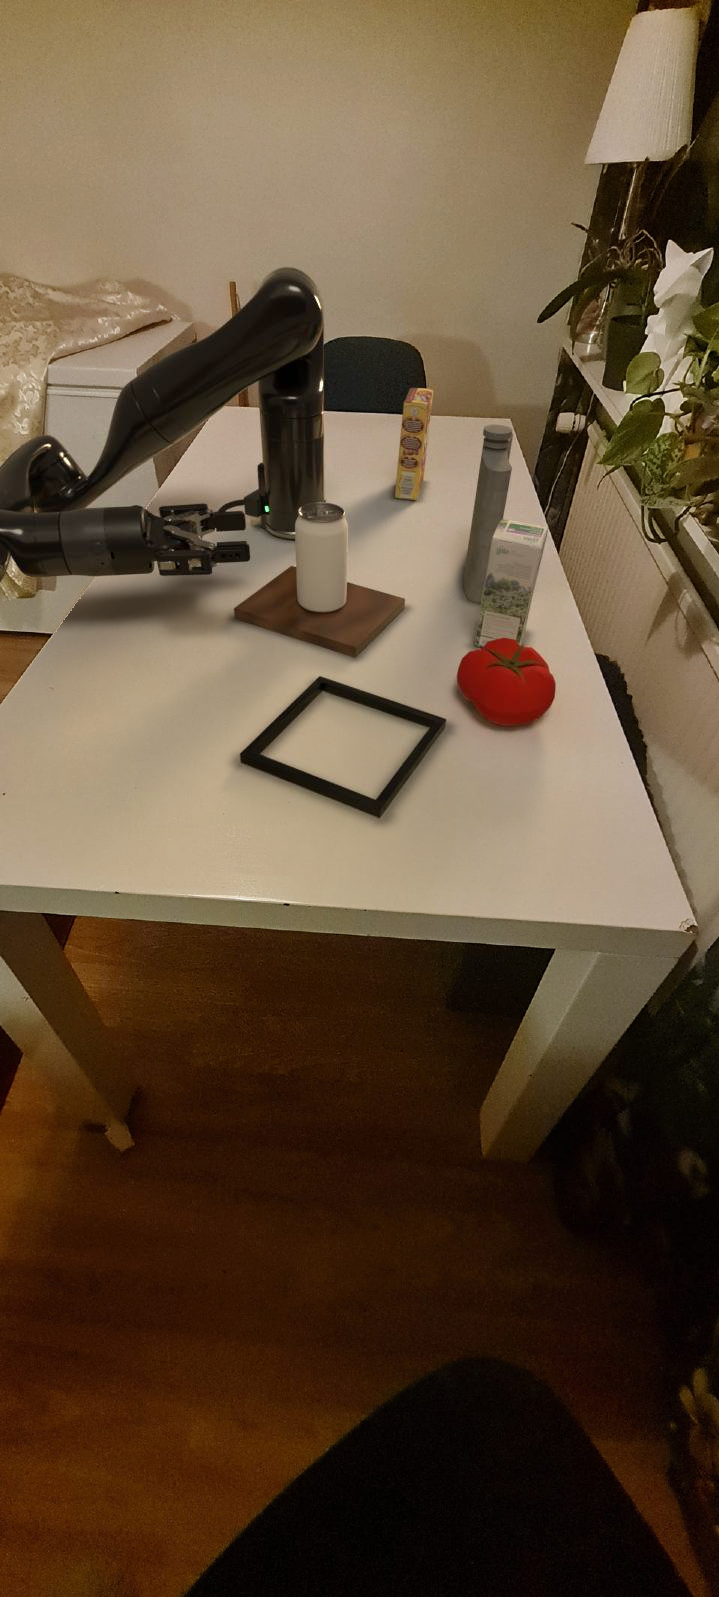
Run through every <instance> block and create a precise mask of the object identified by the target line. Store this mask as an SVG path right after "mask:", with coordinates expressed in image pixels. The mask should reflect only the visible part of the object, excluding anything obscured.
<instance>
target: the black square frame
mask: <svg viewBox="0 0 719 1597" xmlns="http://www.w3.org/2000/svg"><path fill="white" fill-rule="evenodd" d="M322 692H325V693H329V694H331V695H334V696H337V697H339V698H343V699H345V700H349V701H351V702H354V703H357V704H359V705H363V706H366V707H369V708H372V709H375V710H377V711H380V712H383V713H386V714H389V715H392V716H394V717H397V718H401V719H403V720H406V721H409V722H412V723H414V724H418V725H421V726H423V727H427V728H428V729H427V731H426V732H425V733H424V735H423V736H422V737H421V738H420V739H419V741H418V742H417V744H416V745H415V747H414V748H413V750H412V751H411V752H410V753H409V754H408V755H407V757H406V759H405V760H404V761H403V763H402V764H401V765H400V766H399V768H398V770H396V772H395V773H394V775H393V776H392V777H391V779H390V780H389V781H388V783H387V784H386V785H385V787H384V788H383V789H382V790H381V792H380V793H379V795H378V796H377V797H376V798H373V797H370V796H368V795H365V794H363V793H360V792H358V791H355V790H352V789H350V788H347V787H345V786H342V785H339V784H336V783H334V782H332V781H329V780H327V779H324V778H321V777H319V776H317V775H314V774H312V773H309V772H307V771H305V770H301V769H299V768H296V767H294V766H292V765H288V764H286V763H284V762H281V761H278V760H276V759H273V758H271V757H268V756H266V755H263V754H262V752H263V751H265V749H266V748H268V746H269V745H270V744H271V743H272V742H273V741H274V740H275V739H277V737H279V735H280V734H282V732H284V730H285V729H286V728H287V727H289V725H291V723H292V722H293V721H294V720H295V719H296V718H298V716H299V715H300V714H301V713H303V711H304V710H305V709H306V708H308V706H309V705H310V704H312V702H313V701H314V700H315V699H316V698H317V697H318V696H319V695H320V694H321V693H322ZM446 724H447V718H445V717H442V716H439V715H436V714H433V713H430V712H427V711H424V710H421V709H419V708H415V707H412V706H410V705H406V704H404V703H400V702H398V701H394V700H391V699H389V698H386V697H383V696H380V695H378V694H375V693H372V692H368V691H366V690H363V689H361V688H360V689H359V688H356V687H353V686H351V685H348V684H344V683H342V682H340V681H336V680H333V679H330V678H327V677H324V676H320V675H319V676H318V677H317V678H316V679H315V680H313V682H311V684H310V685H308V686H307V688H305V690H304V691H302V693H300V694H299V695H298V696H297V697H296V698H295V699H294V700H293V701H292V702H291V703H290V704H289V705H288V706H287V707H286V708H285V709H284V710H283V711H282V712H281V713H280V714H279V715H278V716H277V717H276V718H274V719H273V721H271V723H270V724H269V725H268V726H267V727H266V728H264V730H262V731H261V732H260V734H259V735H258V736H256V737H255V738H254V739H253V740H252V741H251V742H250V743H249V744H248V745H247V746H246V747H245V748H244V749H243V750H242V751H241V752H240V753H239V758H240V760H239V761H240V763H241V764H243V765H247V766H249V767H251V768H254V769H256V770H259V771H261V772H264V773H266V774H269V775H270V776H271V775H272V776H274V777H275V778H276V777H277V778H279V779H281V780H284V781H286V782H288V783H291V784H294V785H295V786H299V787H301V788H304V789H306V790H308V791H311V792H314V793H316V794H319V795H321V796H323V797H326V798H329V799H331V800H333V801H335V802H338V803H342V804H344V805H346V806H348V807H351V808H354V809H356V810H358V811H361V812H363V813H366V814H368V815H371V816H373V817H376V818H378V819H380V818H381V817H382V816H383V814H384V813H385V811H386V810H387V809H388V807H389V806H390V804H391V803H392V802H393V800H394V799H395V798H396V796H397V795H398V794H399V792H400V790H401V789H402V788H403V787H404V785H405V784H406V782H407V781H408V780H409V779H410V777H411V776H412V774H413V773H414V771H415V770H416V769H417V767H418V766H419V765H420V763H421V762H422V761H423V759H424V758H425V757H426V755H427V754H428V753H429V751H430V749H431V748H432V747H433V745H434V744H435V743H436V741H437V740H438V739H439V737H440V736H441V735H442V733H443V732H444V730H445V729H446V726H447V725H446Z"/></svg>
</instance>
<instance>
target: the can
mask: <svg viewBox="0 0 719 1597" xmlns="http://www.w3.org/2000/svg"><path fill="white" fill-rule="evenodd" d="M345 513H346V512H345V509H344V508H343V507H341V506H340V505H338V504H335V503H332V502H326V503H324V502H317V503H310V504H306V505H304V506H302V507H300V508H299V510H298V514H299V516H298V518H297V520H296V523H295V539H294V540H295V567H296V577H297V599H298V603H299V604H300V605H301V606H302V607H303V608H304V609H305V610H307V611H310V612H313V613H331V612H335V611H337V610H339V609H341V608H342V607H343V605H344V604H345V603H346V594H347V582H348V553H349V552H348V547H349V545H348V544H349V526H348V521H347V519H346V516H345Z"/></svg>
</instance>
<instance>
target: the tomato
mask: <svg viewBox="0 0 719 1597" xmlns="http://www.w3.org/2000/svg"><path fill="white" fill-rule="evenodd" d="M456 683H457V685H458V688H459V690H460V691H461V693H462V695H463V697H464V698H466V699H467V700H468V701H470V702H472V704H473V705H474V707H475V709H476V711H477V713H479V714H480V715H481V716H482V717H483V718H485V719H486V720H488V721H490V722H491V723H494V724H497V725H500V726H510V727H512V726H513V727H514V726H522V725H528V724H530V723H532V722H535V721H537V720H539V719H540V718H541V717H542V716H544V715H545V713H547V711H548V710H549V709H550V708H551V707H552V704H553V703H554V700H555V697H556V688H557V687H556V686H557V685H556V684H557V683H556V680H555V678H554V675H553V674H552V673H551V671H550V667H549V664H548V663H547V662H546V660H545V659H544V657H543V656H542V655H541V654H540V653H539V652H538V651H537V650H535V648H533V647H531V646H524V644H521V646H520V645H519V644H518V642H517V641H516V640H515V639H509V638H500V639H496V640H492V641H488V642H487V643H486V644H485V645H484V646H483V647H481V649H474V650H470V651H468V652H467V653H466V654H465V655H463V657H462V658H461V659H460V662H459V665H458V668H457V673H456Z"/></svg>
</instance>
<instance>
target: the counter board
mask: <svg viewBox="0 0 719 1597" xmlns="http://www.w3.org/2000/svg"><path fill="white" fill-rule="evenodd" d="M405 604H406V598H404V597H401V596H397V595H395V594H391V593H387V592H383V591H381V590H376V589H373V588H369V587H367V586H363V585H359V584H355V583H352V582H349V581H347V594H346V603H345V604H344V605H343V607H342V608H341V609H339V610H337V611H335V612H331V613H313V612H310V611H307V610H305V609H304V608H303V607H302V606H301V605H300V604H299V603H298V599H297V577H296V566H293V565H290V566H289V567H287V568H286V569H284V570H283V571H282V572H281V573H279V574H278V575H276V576H275V577H274V578H273V579H271V580H270V581H268V583H266V584H265V585H263V586H262V587H260V588H259V589H258V590H257V591H255V592H254V593H253V594H251V595H250V596H248V597H247V598H245V599H244V600H243V601H241V602H240V603H239V604H237V605H236V606H234V608H233V614H234V619H236V620H238V621H242V622H244V623H247V624H250V625H254V626H257V627H260V628H263V629H266V630H269V631H271V632H275V633H278V634H282V635H284V636H288V637H291V638H294V639H297V640H299V641H303V642H306V643H309V644H312V645H315V646H319V647H322V648H325V649H326V650H327V649H328V650H329V651H334V652H336V653H339V654H343V655H346V656H349V657H352V658H356V657H358V656H359V655H360V654H361V653H362V652H363V651H364V650H365V649H366V648H367V647H368V646H369V645H370V644H371V643H372V642H373V641H374V640H375V639H376V638H377V637H378V636H379V635H380V634H381V633H382V632H383V631H384V630H385V629H386V628H387V627H388V626H389V624H391V622H392V621H393V620H395V619H396V618H397V617H398V615H399V614H401V612H403V610H405V607H406V606H405Z"/></svg>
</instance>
